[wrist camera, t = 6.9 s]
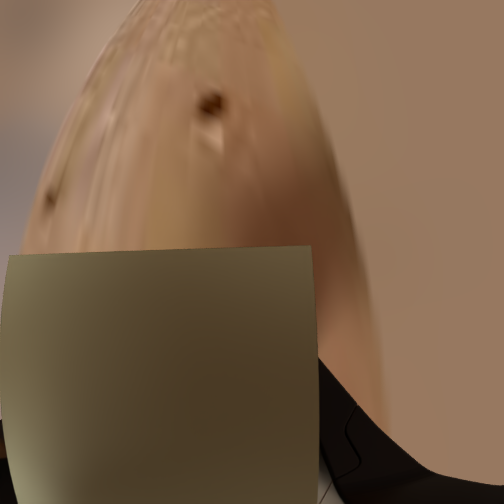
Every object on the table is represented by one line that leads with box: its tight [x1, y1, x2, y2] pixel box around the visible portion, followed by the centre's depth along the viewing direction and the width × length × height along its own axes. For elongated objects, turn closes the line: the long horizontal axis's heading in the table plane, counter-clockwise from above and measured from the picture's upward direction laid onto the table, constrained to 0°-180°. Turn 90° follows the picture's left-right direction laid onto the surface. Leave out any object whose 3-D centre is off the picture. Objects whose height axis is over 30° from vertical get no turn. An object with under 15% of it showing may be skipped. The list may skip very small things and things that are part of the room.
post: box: [0, 245, 319, 504], centre depth 9 cm, size 4×4×12 cm
